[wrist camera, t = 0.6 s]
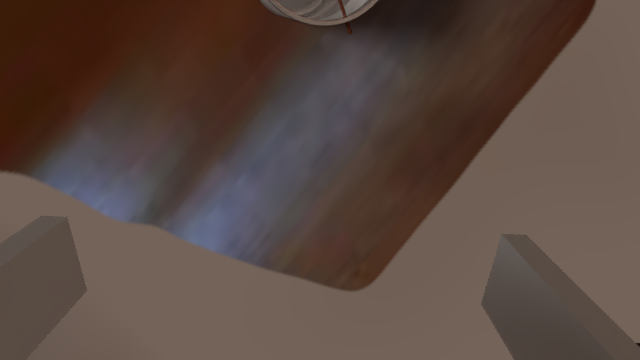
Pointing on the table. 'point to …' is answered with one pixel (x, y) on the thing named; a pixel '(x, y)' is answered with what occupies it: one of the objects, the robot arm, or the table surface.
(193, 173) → the table surface
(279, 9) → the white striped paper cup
